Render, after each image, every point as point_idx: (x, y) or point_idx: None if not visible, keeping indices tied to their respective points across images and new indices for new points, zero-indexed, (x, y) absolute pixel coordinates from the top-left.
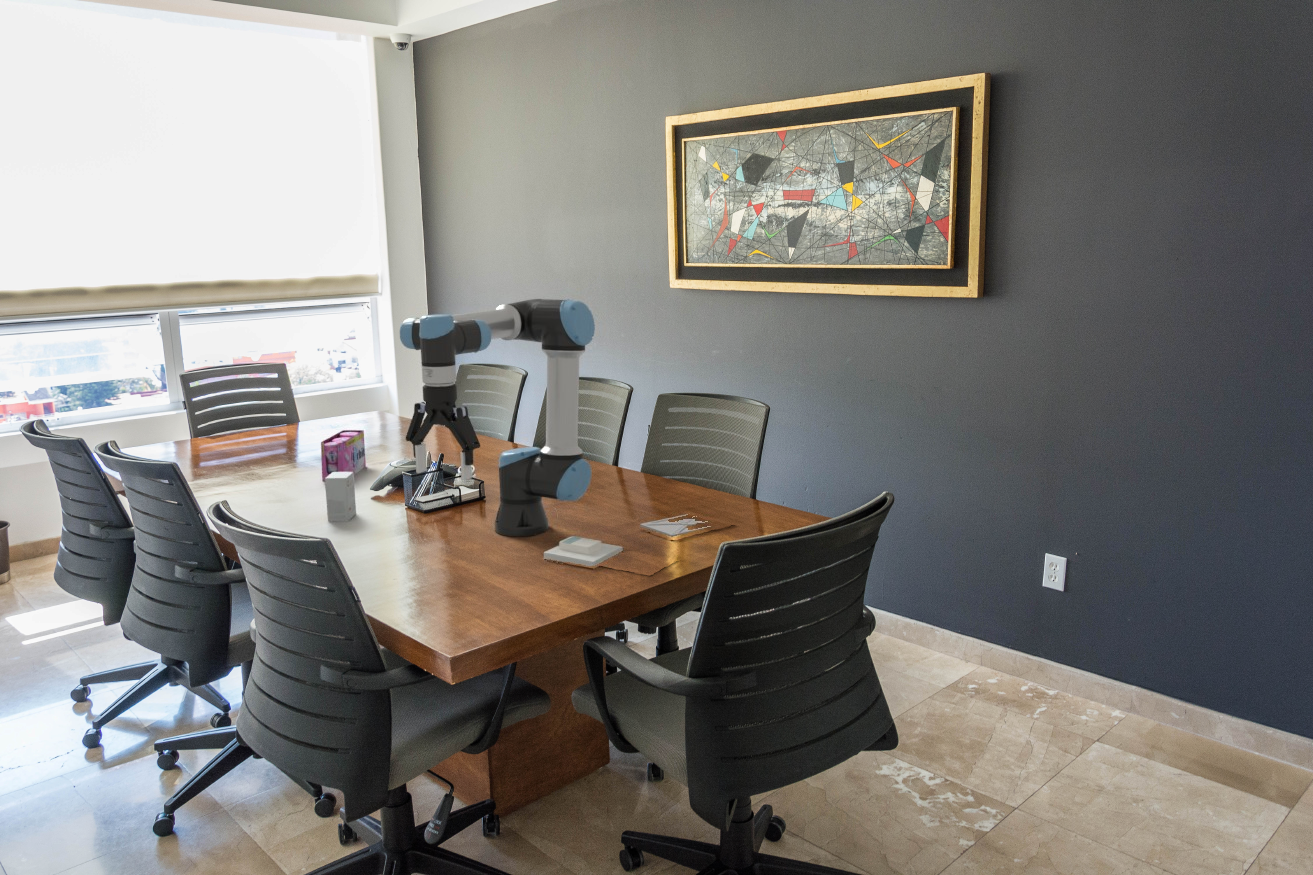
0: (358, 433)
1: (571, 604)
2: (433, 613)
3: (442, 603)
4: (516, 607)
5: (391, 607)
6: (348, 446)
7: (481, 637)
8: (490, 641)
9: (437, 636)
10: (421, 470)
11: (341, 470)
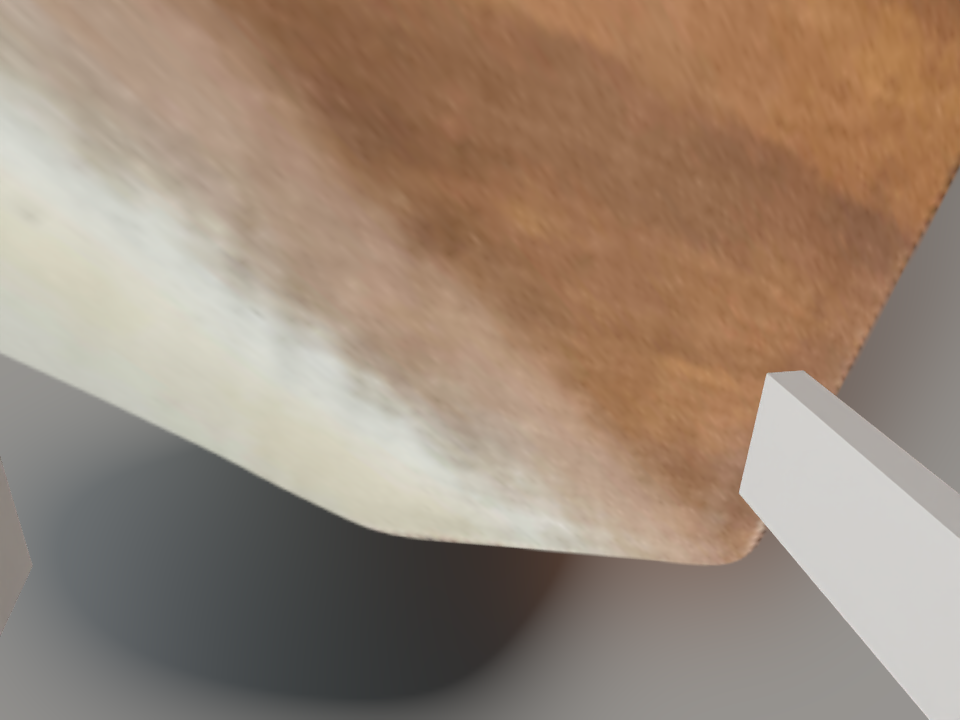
0: None
1: (933, 59)
2: (503, 404)
3: (466, 320)
4: (746, 202)
5: (325, 446)
6: None
7: None
8: None
9: (633, 512)
10: (10, 538)
11: None
